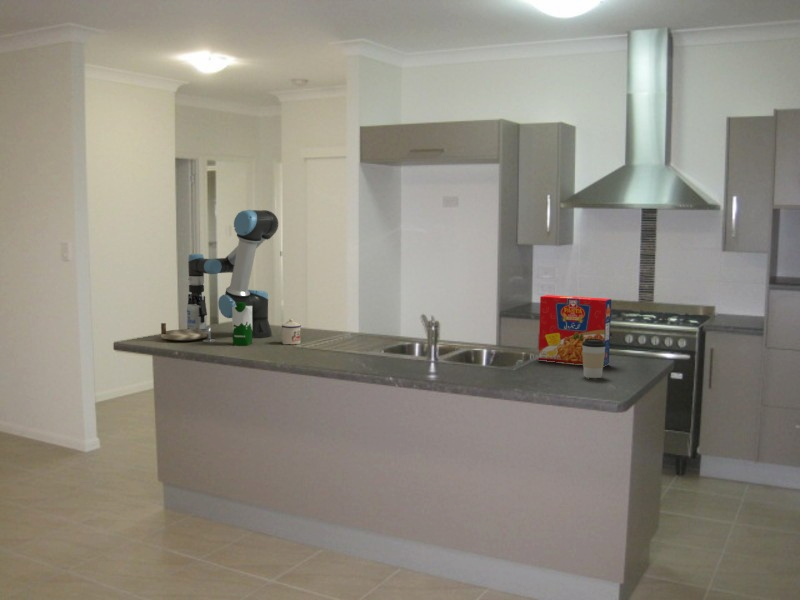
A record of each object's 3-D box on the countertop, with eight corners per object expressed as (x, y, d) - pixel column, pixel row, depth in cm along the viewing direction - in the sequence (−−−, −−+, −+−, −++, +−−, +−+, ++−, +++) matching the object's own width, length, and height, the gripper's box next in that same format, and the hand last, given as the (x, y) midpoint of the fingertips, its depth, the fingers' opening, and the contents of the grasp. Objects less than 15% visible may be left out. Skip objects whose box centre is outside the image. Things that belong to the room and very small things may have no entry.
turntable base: (205, 338, 400) (205, 335, 400) (187, 342, 388) (187, 339, 388) (182, 336, 406) (182, 333, 406) (163, 340, 393) (163, 337, 393)
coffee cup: (601, 374, 321) (602, 337, 319) (607, 379, 312) (609, 340, 310) (578, 374, 321) (579, 337, 319) (584, 379, 312) (585, 340, 310)
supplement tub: (183, 333, 416) (183, 304, 414) (194, 331, 424) (194, 303, 423) (200, 334, 412) (199, 305, 411) (210, 332, 421) (210, 304, 420)
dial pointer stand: (215, 341, 392) (215, 326, 391) (210, 342, 388) (209, 328, 388) (206, 340, 394) (206, 326, 393) (201, 341, 391) (200, 327, 390)
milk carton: (230, 345, 381) (230, 303, 378) (236, 342, 390) (236, 300, 387) (249, 346, 380) (248, 303, 378) (254, 343, 389) (254, 301, 387)
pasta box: (538, 361, 349) (540, 296, 346) (545, 358, 356) (547, 294, 353) (603, 368, 335) (605, 300, 332) (608, 365, 342) (611, 299, 339)
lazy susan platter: (201, 331, 412) (200, 318, 411) (213, 337, 392) (213, 323, 392) (156, 334, 401) (156, 320, 400) (166, 340, 382) (166, 326, 381)
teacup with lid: (294, 345, 382) (294, 321, 381) (277, 344, 386) (277, 319, 385) (307, 342, 393) (307, 318, 392) (291, 340, 397) (291, 316, 396)
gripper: (179, 283, 421) (180, 326, 424) (200, 286, 405) (200, 331, 407) (192, 282, 426) (193, 324, 429) (213, 285, 410) (214, 329, 412)
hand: (197, 327), depth 418 cm, fingers closed on supplement tub, 10 cm apart
